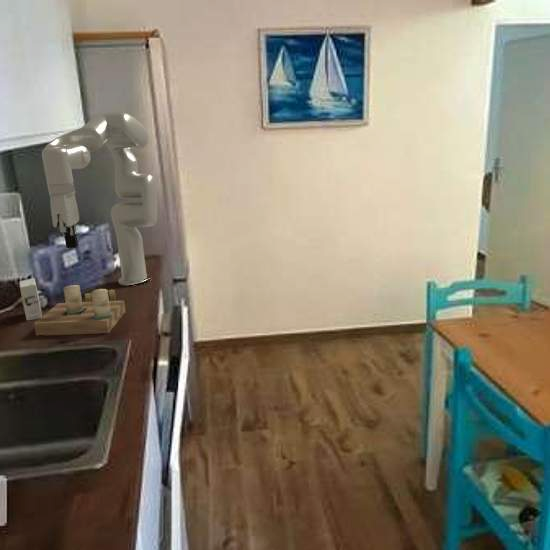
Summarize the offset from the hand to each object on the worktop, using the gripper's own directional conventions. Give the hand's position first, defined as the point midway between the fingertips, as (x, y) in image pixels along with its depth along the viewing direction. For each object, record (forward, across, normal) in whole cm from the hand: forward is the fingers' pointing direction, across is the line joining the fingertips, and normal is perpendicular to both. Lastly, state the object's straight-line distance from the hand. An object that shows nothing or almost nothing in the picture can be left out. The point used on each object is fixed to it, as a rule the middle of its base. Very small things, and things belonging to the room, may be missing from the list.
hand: (72, 247), depth 163 cm
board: (+24, +6, +2) cm, 24 cm away
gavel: (+25, -20, -2) cm, 32 cm away
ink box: (+24, -3, -18) cm, 30 cm away
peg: (+24, +6, 0) cm, 24 cm away
